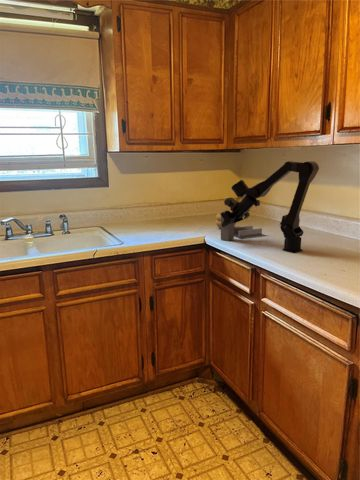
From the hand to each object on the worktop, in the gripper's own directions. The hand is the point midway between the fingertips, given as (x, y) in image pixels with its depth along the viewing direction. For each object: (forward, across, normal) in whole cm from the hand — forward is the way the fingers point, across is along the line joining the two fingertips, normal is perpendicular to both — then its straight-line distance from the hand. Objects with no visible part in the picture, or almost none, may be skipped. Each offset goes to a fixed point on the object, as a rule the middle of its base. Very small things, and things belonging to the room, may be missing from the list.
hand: (225, 225), depth 187 cm
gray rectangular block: (+4, 0, +6) cm, 7 cm away
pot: (+15, -23, -5) cm, 28 cm away
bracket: (+3, -15, +7) cm, 17 cm away
